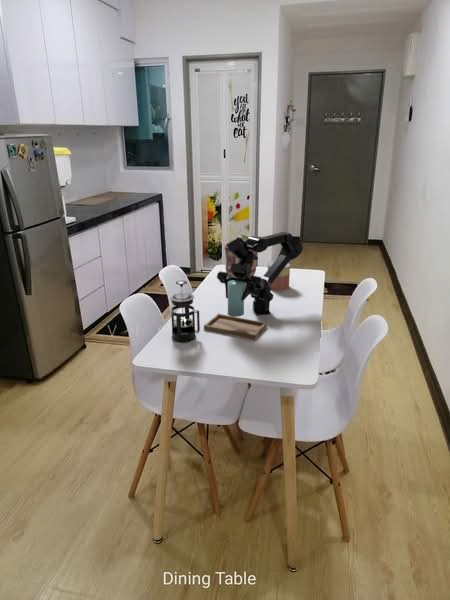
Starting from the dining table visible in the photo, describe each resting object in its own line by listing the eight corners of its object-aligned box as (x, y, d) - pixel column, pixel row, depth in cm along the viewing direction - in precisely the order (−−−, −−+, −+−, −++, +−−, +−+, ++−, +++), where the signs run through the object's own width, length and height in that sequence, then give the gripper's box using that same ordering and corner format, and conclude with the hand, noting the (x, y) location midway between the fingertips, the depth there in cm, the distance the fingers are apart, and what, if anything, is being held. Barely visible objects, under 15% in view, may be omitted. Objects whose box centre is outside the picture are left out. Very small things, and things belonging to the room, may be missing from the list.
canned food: (276, 281, 229) (276, 260, 225) (293, 286, 222) (294, 264, 217) (262, 287, 222) (263, 264, 217) (280, 292, 214) (281, 269, 210)
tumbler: (241, 309, 178) (241, 279, 173) (245, 315, 172) (246, 285, 167) (226, 310, 177) (225, 280, 172) (229, 317, 171) (229, 286, 166)
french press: (166, 340, 167) (162, 284, 158) (175, 330, 175) (172, 276, 166) (195, 344, 164) (193, 287, 155) (203, 334, 172) (201, 279, 163)
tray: (218, 317, 187) (218, 313, 186) (266, 326, 178) (266, 322, 177) (204, 329, 176) (203, 325, 175) (254, 339, 167) (254, 335, 166)
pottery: (219, 280, 232) (219, 247, 225) (230, 270, 247) (230, 239, 240) (251, 284, 226) (252, 251, 219) (260, 274, 241) (261, 242, 234)
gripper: (218, 252, 172) (206, 287, 167) (262, 257, 165) (251, 294, 160) (226, 265, 182) (215, 298, 177) (268, 271, 175) (258, 306, 170)
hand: (234, 299), depth 171 cm, fingers closed on tumbler, 6 cm apart
